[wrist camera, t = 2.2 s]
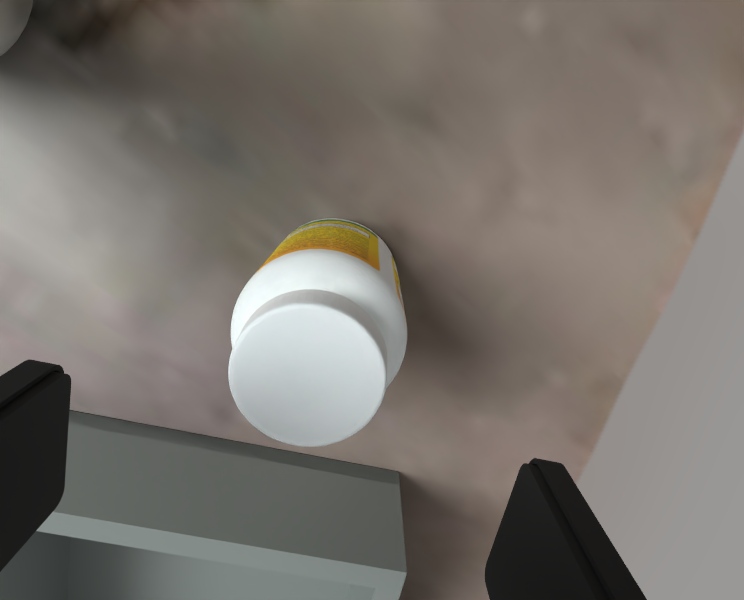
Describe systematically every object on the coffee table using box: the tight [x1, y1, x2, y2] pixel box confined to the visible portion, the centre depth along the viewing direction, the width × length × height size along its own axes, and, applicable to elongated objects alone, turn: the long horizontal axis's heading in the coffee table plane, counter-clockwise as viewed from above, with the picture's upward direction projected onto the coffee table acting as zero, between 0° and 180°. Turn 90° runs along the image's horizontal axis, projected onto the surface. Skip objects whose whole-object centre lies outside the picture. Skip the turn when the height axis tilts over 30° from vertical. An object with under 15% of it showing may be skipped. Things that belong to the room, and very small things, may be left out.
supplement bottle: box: [228, 218, 407, 447], centre depth 17 cm, size 5×5×10 cm
